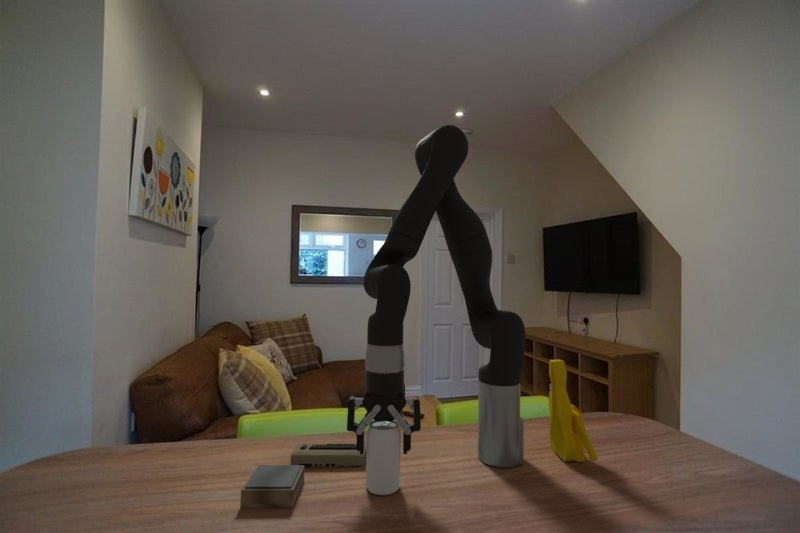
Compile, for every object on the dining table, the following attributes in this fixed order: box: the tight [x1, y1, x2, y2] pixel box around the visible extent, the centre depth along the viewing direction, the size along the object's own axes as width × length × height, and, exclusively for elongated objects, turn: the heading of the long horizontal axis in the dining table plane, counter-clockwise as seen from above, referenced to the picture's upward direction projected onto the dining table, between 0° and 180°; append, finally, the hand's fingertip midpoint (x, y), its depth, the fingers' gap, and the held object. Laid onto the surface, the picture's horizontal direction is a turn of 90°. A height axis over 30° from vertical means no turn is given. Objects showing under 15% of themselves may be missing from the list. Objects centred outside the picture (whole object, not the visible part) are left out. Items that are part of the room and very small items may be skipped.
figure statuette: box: [548, 358, 599, 463], centre depth 88 cm, size 18×8×22 cm, turn 4°
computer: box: [289, 443, 367, 469], centre depth 85 cm, size 16×8×3 cm, turn 93°
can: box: [365, 420, 401, 497], centre depth 74 cm, size 6×6×12 cm
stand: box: [239, 464, 306, 509], centre depth 71 cm, size 9×9×3 cm
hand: (383, 452), depth 74 cm, fingers open, 8 cm apart
